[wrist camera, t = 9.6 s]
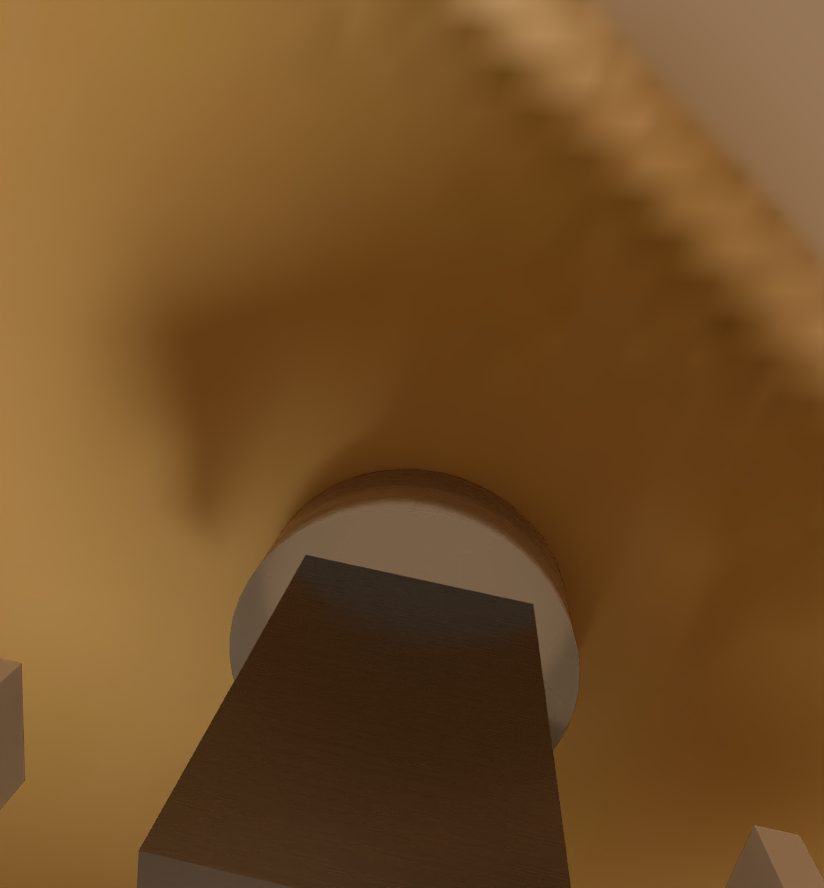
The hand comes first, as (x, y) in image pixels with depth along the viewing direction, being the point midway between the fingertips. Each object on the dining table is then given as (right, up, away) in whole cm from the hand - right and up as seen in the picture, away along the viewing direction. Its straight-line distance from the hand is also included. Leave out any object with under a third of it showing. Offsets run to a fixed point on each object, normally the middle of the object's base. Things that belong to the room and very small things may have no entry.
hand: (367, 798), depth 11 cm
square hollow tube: (0, +1, +3) cm, 3 cm away
